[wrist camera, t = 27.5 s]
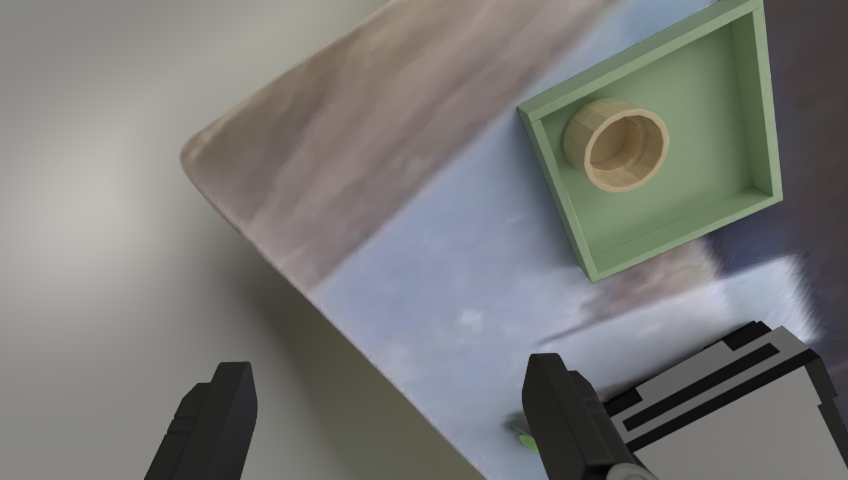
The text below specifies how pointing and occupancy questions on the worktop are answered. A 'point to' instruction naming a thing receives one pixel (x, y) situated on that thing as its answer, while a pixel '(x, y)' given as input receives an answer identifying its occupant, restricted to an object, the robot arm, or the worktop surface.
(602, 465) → the robot arm
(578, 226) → the tray
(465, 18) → the worktop surface
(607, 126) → the beige cup
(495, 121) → the worktop surface
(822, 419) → the game console
